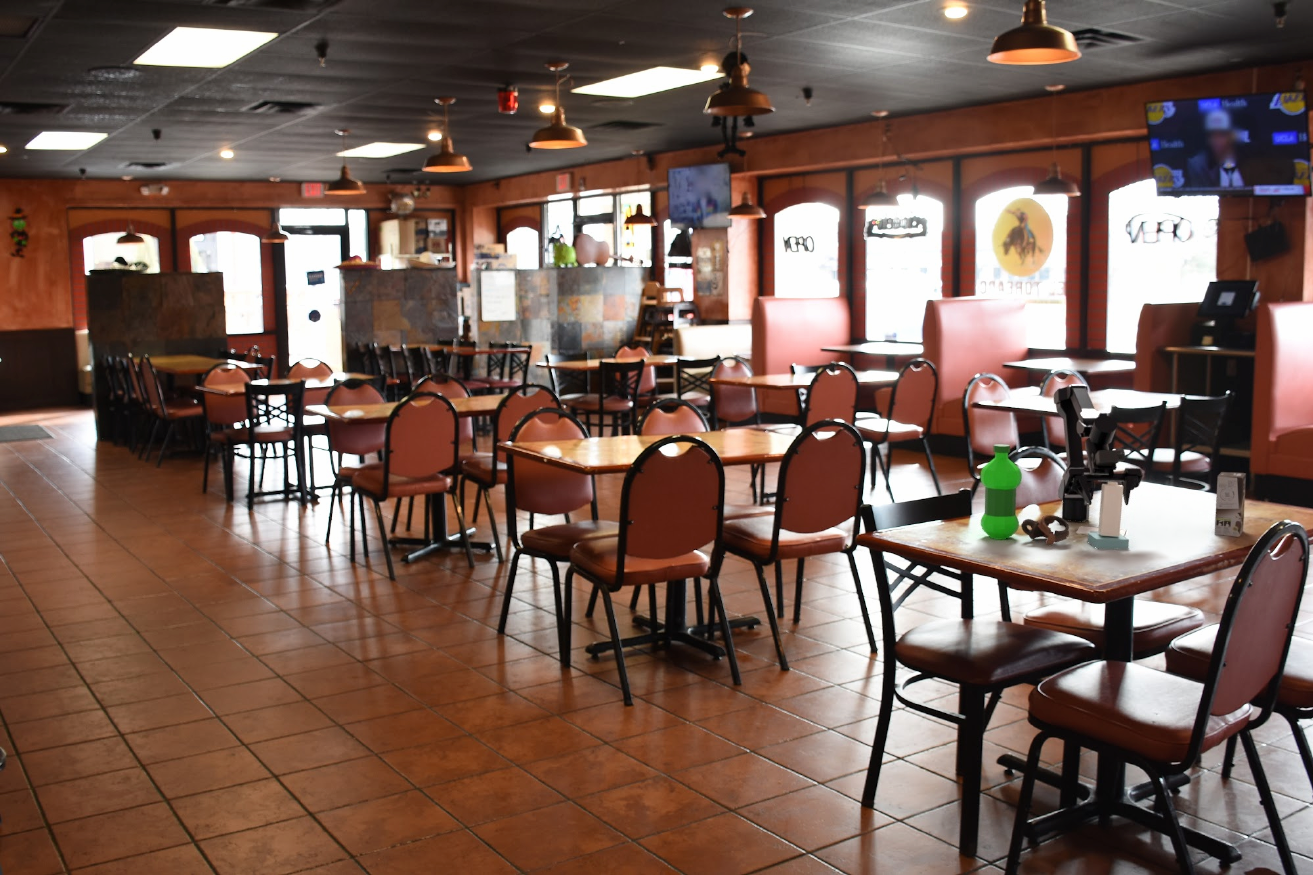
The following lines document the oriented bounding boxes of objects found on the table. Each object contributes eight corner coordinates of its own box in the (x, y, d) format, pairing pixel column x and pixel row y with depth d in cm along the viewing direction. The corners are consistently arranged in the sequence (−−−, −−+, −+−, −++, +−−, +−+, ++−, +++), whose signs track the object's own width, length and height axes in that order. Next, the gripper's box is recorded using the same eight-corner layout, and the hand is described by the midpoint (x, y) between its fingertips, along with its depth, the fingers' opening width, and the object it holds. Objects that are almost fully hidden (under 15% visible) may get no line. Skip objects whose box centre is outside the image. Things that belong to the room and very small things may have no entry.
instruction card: (1076, 533, 323) (1076, 532, 323) (1079, 527, 331) (1080, 525, 331) (1123, 537, 318) (1123, 535, 318) (1126, 530, 326) (1126, 529, 326)
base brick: (1087, 544, 312) (1088, 532, 312) (1118, 544, 312) (1119, 533, 311) (1096, 550, 304) (1096, 539, 304) (1128, 551, 304) (1128, 539, 303)
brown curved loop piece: (1061, 539, 318) (1072, 516, 313) (1061, 562, 310) (1072, 538, 305) (1016, 527, 319) (1026, 504, 314) (1016, 549, 312) (1026, 526, 307)
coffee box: (1240, 537, 316) (1243, 477, 314) (1213, 534, 319) (1216, 475, 317) (1244, 531, 323) (1247, 472, 321) (1218, 528, 327) (1221, 471, 325)
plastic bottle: (1019, 542, 313) (1021, 448, 310) (978, 539, 316) (980, 447, 313) (1020, 534, 322) (1022, 443, 319) (980, 532, 326) (982, 442, 323)
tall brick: (1098, 533, 310) (1102, 480, 309) (1116, 534, 309) (1120, 482, 308) (1100, 535, 306) (1105, 482, 305) (1119, 536, 305) (1123, 483, 304)
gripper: (1068, 437, 311) (1078, 486, 302) (1142, 437, 309) (1154, 486, 300) (1060, 462, 320) (1069, 510, 311) (1132, 462, 318) (1143, 511, 309)
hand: (1108, 504), depth 307 cm, fingers open, 9 cm apart
